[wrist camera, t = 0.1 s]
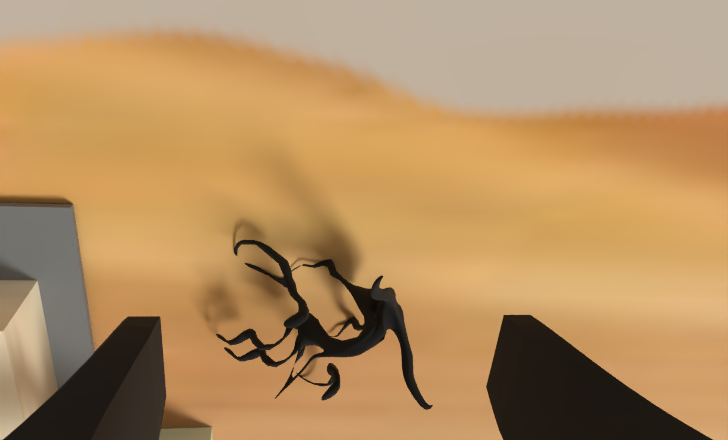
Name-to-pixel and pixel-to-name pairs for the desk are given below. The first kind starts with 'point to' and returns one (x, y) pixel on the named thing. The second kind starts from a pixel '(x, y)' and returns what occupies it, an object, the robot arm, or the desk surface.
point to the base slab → (23, 354)
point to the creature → (377, 317)
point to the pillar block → (186, 433)
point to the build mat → (50, 276)
